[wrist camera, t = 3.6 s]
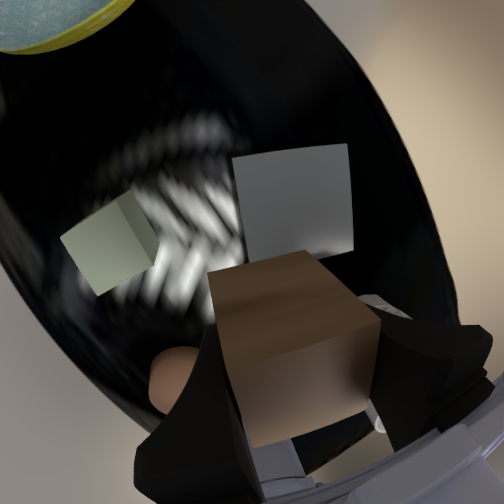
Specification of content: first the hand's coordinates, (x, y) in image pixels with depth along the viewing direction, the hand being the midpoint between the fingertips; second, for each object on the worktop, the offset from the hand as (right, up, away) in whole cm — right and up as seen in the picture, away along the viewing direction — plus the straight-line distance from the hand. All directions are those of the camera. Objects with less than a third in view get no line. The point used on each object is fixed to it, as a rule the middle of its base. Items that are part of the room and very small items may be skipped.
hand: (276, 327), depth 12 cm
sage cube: (-10, +5, +5) cm, 12 cm away
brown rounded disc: (-7, -7, +11) cm, 14 cm away
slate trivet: (+2, +6, +7) cm, 10 cm away
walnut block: (0, +1, +2) cm, 2 cm away
